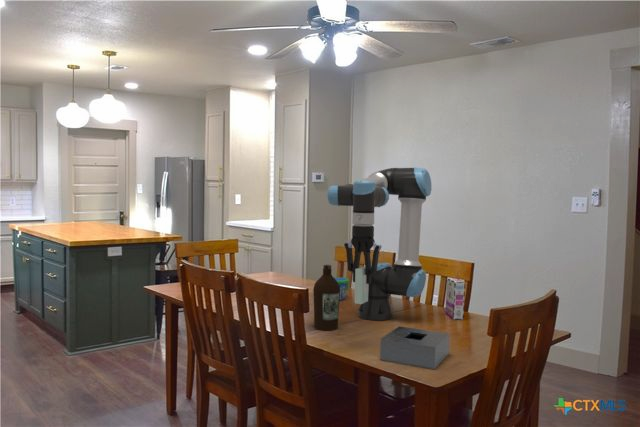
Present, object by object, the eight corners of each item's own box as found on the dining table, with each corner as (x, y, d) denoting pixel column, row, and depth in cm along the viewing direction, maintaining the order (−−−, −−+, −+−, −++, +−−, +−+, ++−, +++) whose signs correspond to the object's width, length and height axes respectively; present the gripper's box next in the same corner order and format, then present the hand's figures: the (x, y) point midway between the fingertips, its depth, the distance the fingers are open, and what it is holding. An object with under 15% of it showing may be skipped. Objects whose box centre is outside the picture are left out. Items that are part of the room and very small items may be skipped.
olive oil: (308, 325, 218) (309, 263, 216) (332, 323, 222) (333, 262, 221) (319, 332, 208) (320, 267, 207) (344, 329, 213) (345, 266, 211)
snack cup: (340, 295, 279) (341, 275, 278) (355, 298, 271) (356, 278, 271) (318, 299, 268) (319, 278, 267) (334, 303, 260) (334, 282, 260)
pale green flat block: (354, 303, 187) (355, 268, 186) (361, 300, 192) (362, 266, 192) (361, 304, 186) (362, 269, 185) (367, 301, 191) (368, 267, 191)
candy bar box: (464, 320, 232) (465, 282, 231) (453, 320, 232) (454, 282, 231) (455, 313, 243) (457, 277, 242) (444, 313, 243) (446, 277, 242)
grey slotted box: (380, 359, 177) (380, 338, 177) (398, 345, 193) (399, 326, 193) (434, 369, 169) (435, 347, 168) (448, 353, 185) (449, 333, 184)
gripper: (338, 224, 188) (336, 291, 189) (380, 227, 181) (378, 296, 182) (347, 223, 195) (345, 288, 196) (388, 225, 187) (386, 292, 189)
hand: (361, 292), depth 189 cm, fingers closed on pale green flat block, 2 cm apart
